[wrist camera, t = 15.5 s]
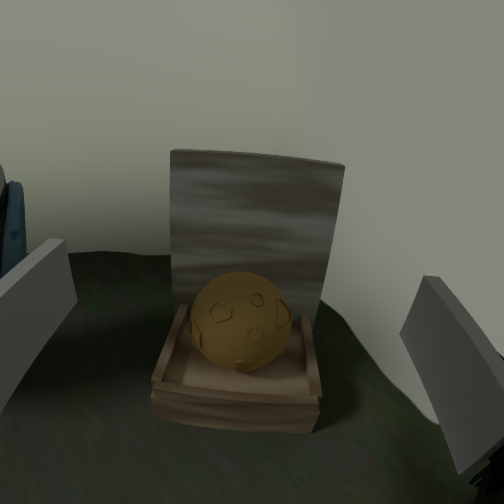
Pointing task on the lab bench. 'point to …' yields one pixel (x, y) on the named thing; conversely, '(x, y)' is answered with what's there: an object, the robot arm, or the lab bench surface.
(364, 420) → the lab bench surface
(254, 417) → the ledge stand
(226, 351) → the stress ball
